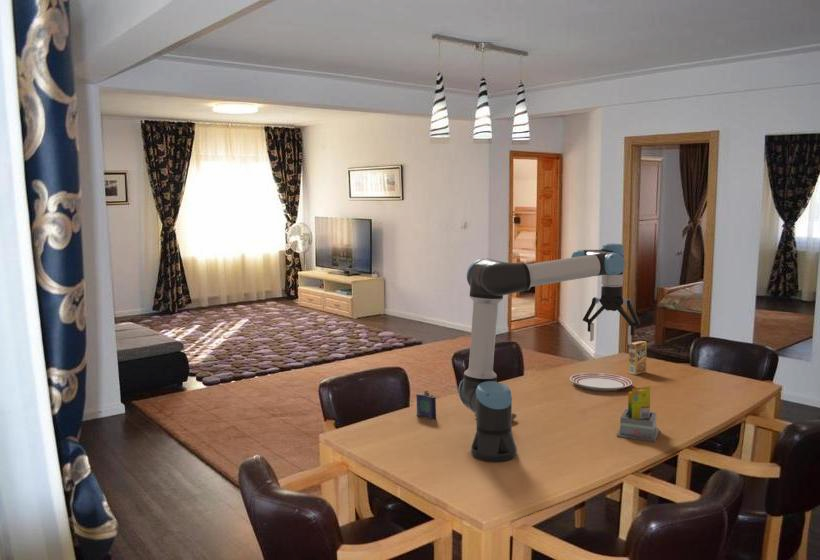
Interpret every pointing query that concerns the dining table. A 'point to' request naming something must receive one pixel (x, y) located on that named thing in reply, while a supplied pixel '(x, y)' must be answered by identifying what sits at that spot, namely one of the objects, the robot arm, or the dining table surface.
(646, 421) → the stand
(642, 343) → the candy box
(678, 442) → the dining table surface
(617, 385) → the dinner plate
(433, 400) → the flask
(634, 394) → the crayon box
